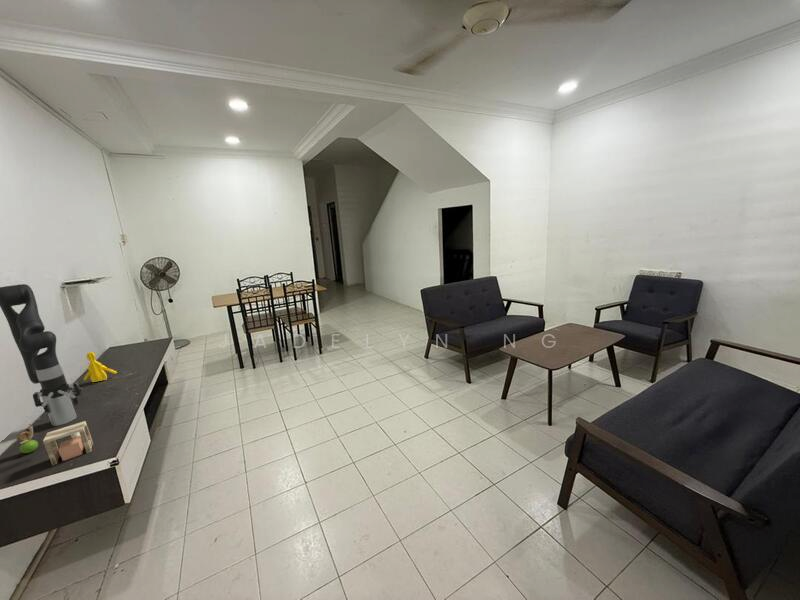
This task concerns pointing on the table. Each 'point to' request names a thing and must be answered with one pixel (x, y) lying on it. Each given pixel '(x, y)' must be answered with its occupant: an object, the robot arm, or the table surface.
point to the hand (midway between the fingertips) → (63, 408)
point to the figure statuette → (96, 369)
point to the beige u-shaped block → (63, 432)
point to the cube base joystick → (71, 447)
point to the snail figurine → (27, 441)
